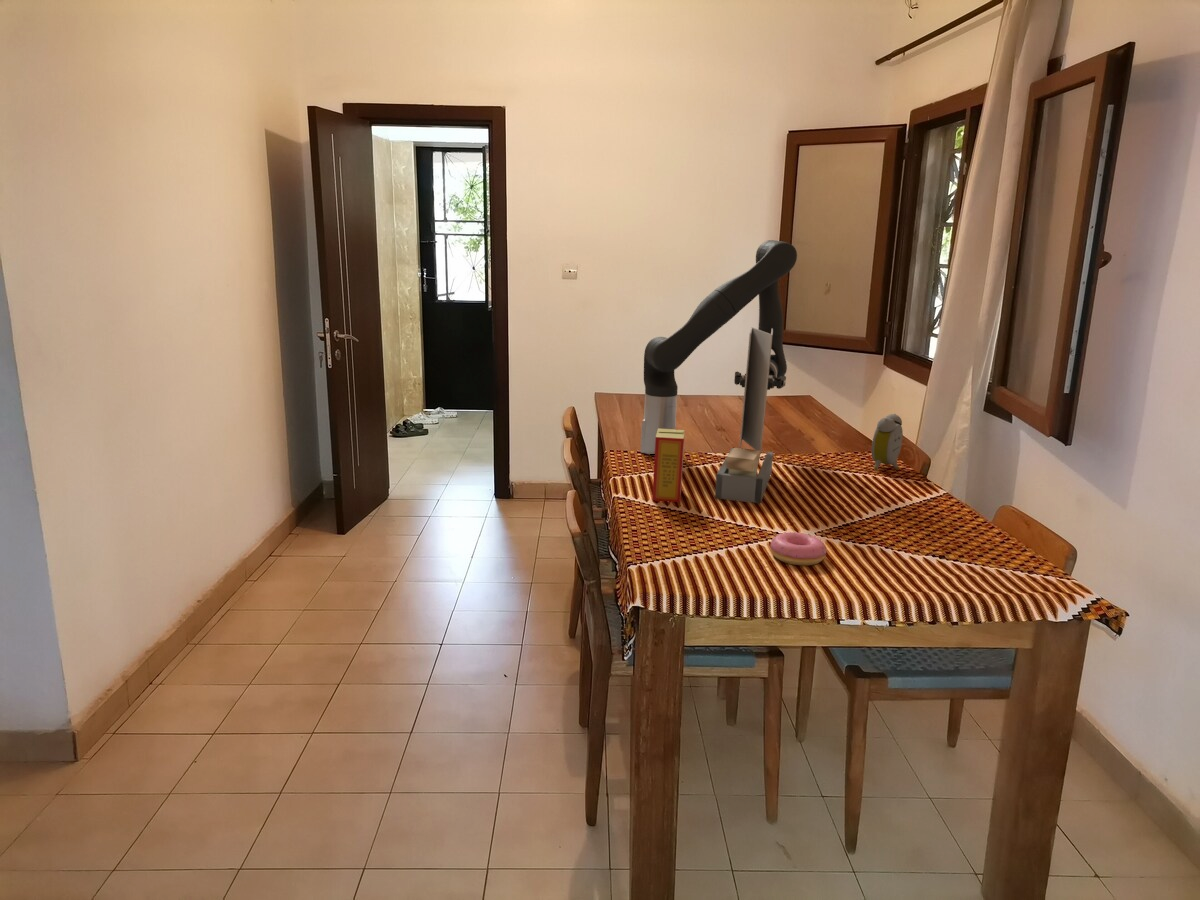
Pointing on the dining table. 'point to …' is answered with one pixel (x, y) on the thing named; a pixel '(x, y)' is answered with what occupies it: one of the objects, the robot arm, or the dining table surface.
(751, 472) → the offcut stack
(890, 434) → the alarm clock
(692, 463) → the dining table surface
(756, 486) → the rack
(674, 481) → the baking soda box
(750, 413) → the brochure
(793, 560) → the doughnut
